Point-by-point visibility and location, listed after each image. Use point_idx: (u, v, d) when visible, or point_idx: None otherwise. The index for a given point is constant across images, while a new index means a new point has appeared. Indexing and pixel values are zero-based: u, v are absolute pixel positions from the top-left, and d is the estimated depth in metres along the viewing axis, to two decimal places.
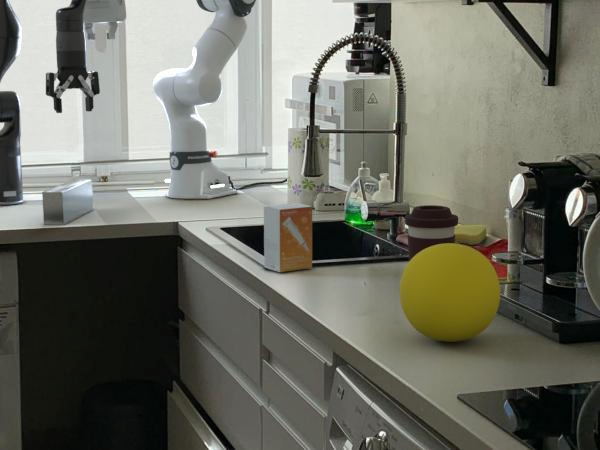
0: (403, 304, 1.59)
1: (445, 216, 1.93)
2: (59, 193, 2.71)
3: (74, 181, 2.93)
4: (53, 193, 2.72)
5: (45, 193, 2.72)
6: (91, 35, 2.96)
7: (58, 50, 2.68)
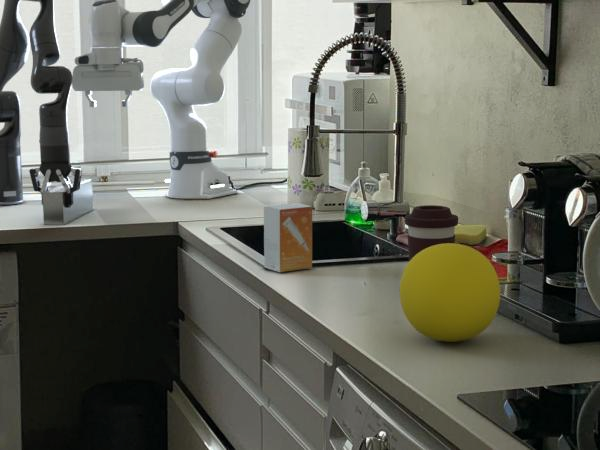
0: (403, 304, 1.59)
1: (445, 216, 1.93)
2: (59, 193, 2.71)
3: None
4: (53, 193, 2.72)
5: (45, 193, 2.72)
6: (94, 103, 2.98)
7: None
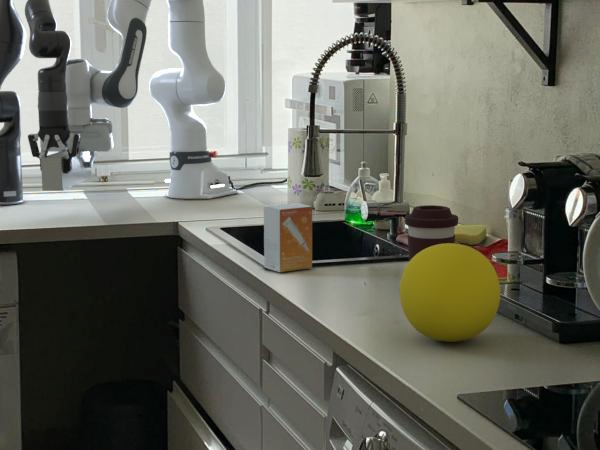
0: (403, 304, 1.59)
1: (445, 216, 1.93)
2: (58, 158, 2.70)
3: None
4: (52, 159, 2.70)
5: (44, 159, 2.70)
6: None
7: None
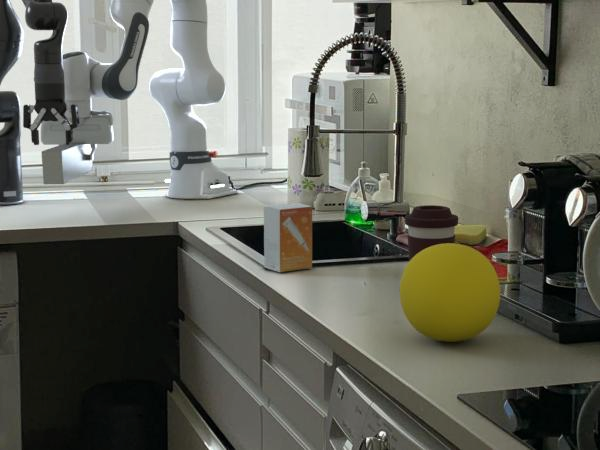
0: (403, 304, 1.59)
1: (445, 216, 1.93)
2: (58, 152, 2.70)
3: None
4: (52, 152, 2.70)
5: (44, 152, 2.70)
6: None
7: None
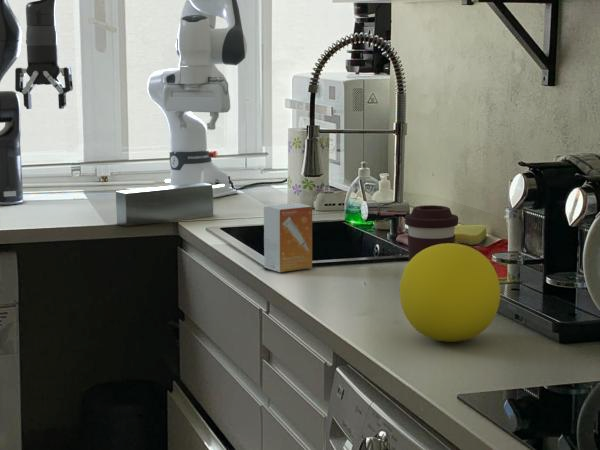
0: (403, 304, 1.59)
1: (445, 216, 1.93)
2: (124, 194, 2.68)
3: (191, 184, 2.83)
4: (121, 193, 2.69)
5: (117, 193, 2.71)
6: (184, 124, 2.83)
7: None
